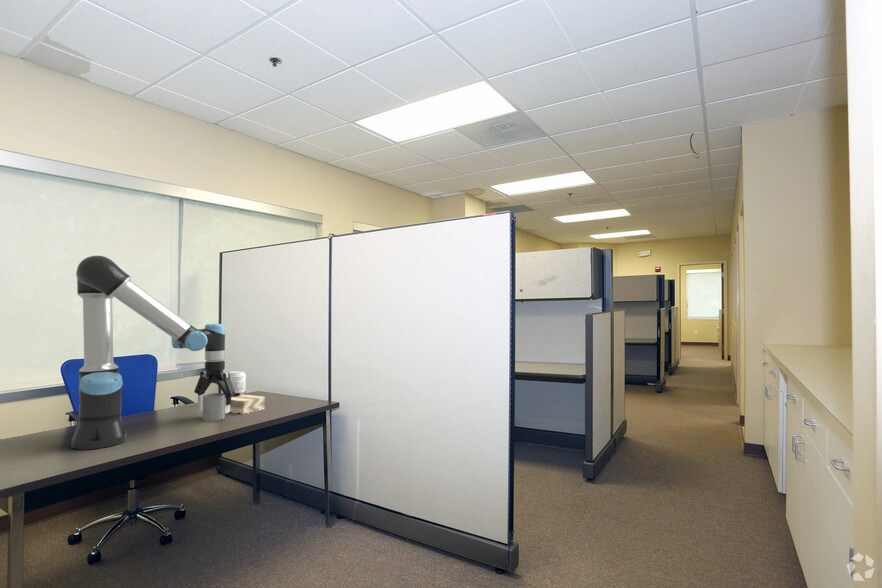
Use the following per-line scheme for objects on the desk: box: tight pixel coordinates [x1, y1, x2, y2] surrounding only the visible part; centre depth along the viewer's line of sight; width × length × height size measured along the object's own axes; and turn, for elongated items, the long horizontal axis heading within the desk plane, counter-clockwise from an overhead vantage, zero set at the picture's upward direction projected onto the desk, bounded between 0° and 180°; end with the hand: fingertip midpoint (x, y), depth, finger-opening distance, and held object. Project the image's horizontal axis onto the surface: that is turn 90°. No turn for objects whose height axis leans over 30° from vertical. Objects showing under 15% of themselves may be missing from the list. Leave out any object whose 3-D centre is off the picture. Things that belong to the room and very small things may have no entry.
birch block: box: [230, 393, 266, 415], centre depth 205 cm, size 12×12×6 cm
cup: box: [202, 392, 226, 422], centre depth 190 cm, size 8×8×10 cm
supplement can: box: [228, 370, 247, 397], centre depth 221 cm, size 8×8×15 cm
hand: (214, 411), depth 190 cm, fingers open, 13 cm apart
